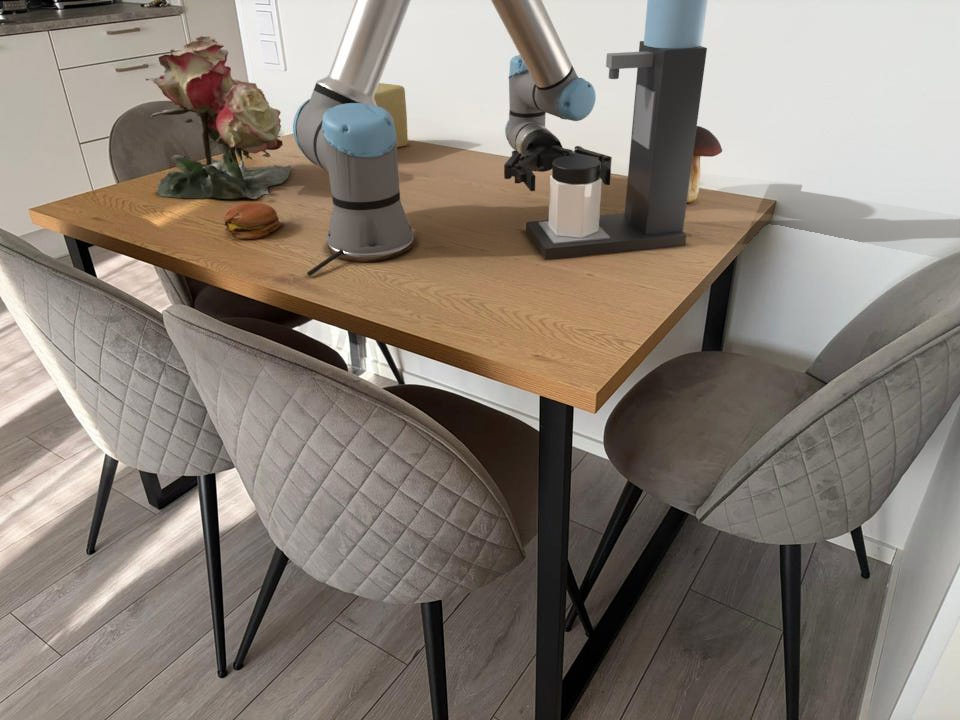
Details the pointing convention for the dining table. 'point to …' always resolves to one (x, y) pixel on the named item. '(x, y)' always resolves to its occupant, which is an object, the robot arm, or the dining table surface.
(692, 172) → the decorative mushroom
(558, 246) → the water dispenser
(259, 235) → the burger
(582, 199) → the jar
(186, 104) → the rose bouquet
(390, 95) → the cheese
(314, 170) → the dining table surface
